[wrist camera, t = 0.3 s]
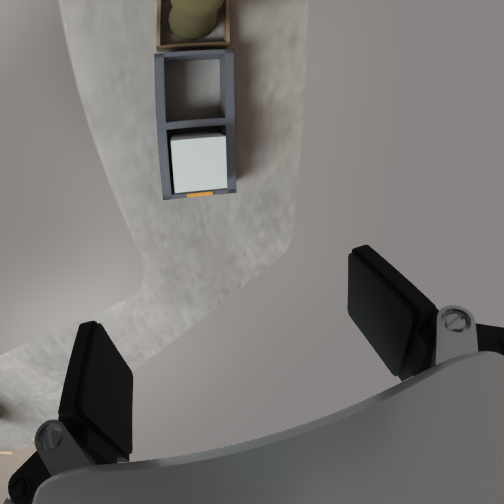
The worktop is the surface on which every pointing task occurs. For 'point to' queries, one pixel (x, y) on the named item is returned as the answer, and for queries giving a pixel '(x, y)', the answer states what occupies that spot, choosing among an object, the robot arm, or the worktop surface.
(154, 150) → the worktop surface
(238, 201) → the worktop surface
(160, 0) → the wooden square frame
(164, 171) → the grey divided tray
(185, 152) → the white block
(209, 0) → the cork
